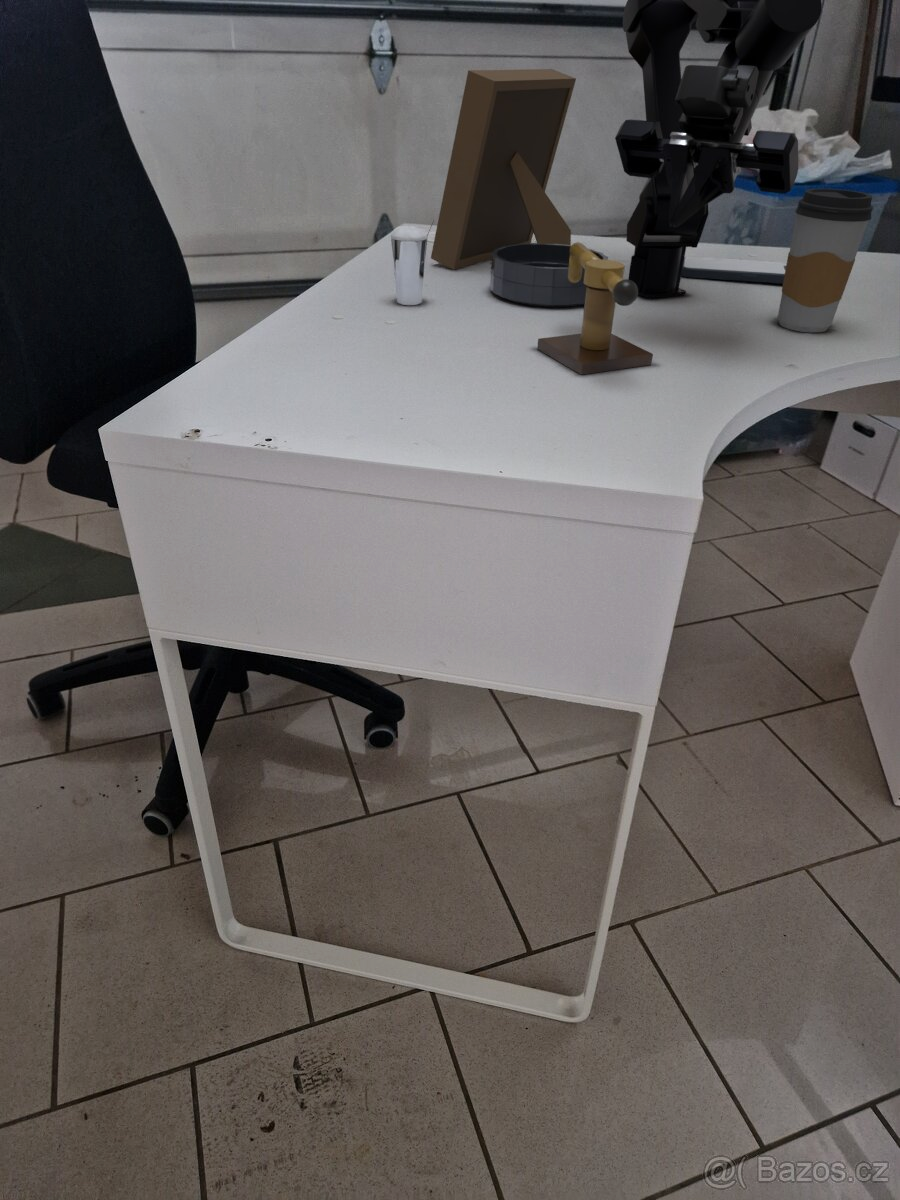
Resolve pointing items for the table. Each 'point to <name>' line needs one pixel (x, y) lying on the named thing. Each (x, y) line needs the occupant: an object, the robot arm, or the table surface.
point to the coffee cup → (822, 256)
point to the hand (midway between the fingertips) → (672, 223)
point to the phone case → (734, 269)
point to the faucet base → (594, 357)
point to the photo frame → (503, 165)
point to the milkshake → (409, 263)
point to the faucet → (601, 274)
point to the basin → (536, 275)
